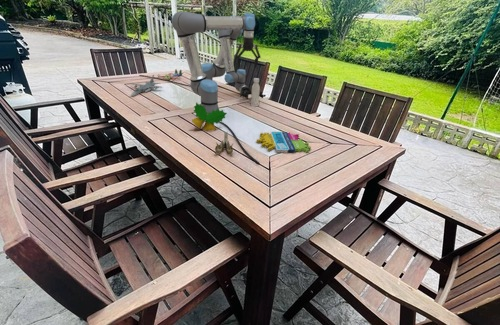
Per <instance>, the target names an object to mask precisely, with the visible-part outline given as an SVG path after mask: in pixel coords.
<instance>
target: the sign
mask: <svg viewBox="0 0 500 325" xmlns="http://www.w3.org/2000/svg"><path fill="white" fill-rule="evenodd" d="M299 136H300V135H299V134H298V133H296V134H294V133H291V132H287V131H270V132H264V133H263V132H260V133H259V139H258V138H257V139H256V143H257V144H261V148H263V147H264V148H265V149H267V151H268V152H271V151H272V150H273V149H275V152H276V153H283V154H285V153H287V154H288V153H290V154H293V153H296V152H298V153H301V152H305V153H310V151H311V150H312V149H311V148H312V146H309V142H304V141H303V139H302V138H299Z"/></svg>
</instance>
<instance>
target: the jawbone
mask: <svg viewBox="0 0 500 325" xmlns="http://www.w3.org/2000/svg"><path fill="white" fill-rule="evenodd" d="M223 135H224V136H223V140H222V139H221V142H220V144H218V142H215V144H216V146H215V148H214V149H215V152H214V154H215V155H217V156H218V155H220V153H221V152H223V151H224V150H226V152H227V153H228V155H229V156H233V155H234V154H233V153H234V148H233V144H234V143H230V140H228V139H229V138H228V137H229V136H228V135H229V133H228V131H226V132H224V134H223Z"/></svg>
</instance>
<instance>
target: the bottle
mask: <svg viewBox="0 0 500 325" xmlns="http://www.w3.org/2000/svg"><path fill="white" fill-rule="evenodd" d="M251 90H252V92H251V95H250V106H251V107H259V105H260V96H259V94H260V92H261V86H260V82H254V81H253V84H252V86H251Z"/></svg>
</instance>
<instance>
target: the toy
mask: <svg viewBox="0 0 500 325" xmlns="http://www.w3.org/2000/svg"><path fill="white" fill-rule="evenodd" d="M156 76H157V78H162V79H165V80H169V81H170V80H171V79H173V80H178V81H181V80H182V78H181V77H182V76H183V73H182V69H180V70H179V72H178V70H177V69H175V70H174V73H172V72H169V73H168V74H165V75H161V74H158V75H156ZM177 76H178V77H177ZM165 80H164V81H165Z"/></svg>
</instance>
